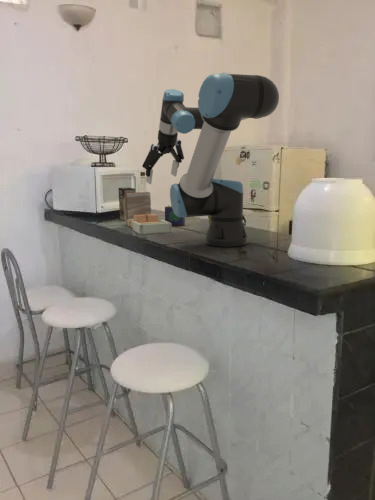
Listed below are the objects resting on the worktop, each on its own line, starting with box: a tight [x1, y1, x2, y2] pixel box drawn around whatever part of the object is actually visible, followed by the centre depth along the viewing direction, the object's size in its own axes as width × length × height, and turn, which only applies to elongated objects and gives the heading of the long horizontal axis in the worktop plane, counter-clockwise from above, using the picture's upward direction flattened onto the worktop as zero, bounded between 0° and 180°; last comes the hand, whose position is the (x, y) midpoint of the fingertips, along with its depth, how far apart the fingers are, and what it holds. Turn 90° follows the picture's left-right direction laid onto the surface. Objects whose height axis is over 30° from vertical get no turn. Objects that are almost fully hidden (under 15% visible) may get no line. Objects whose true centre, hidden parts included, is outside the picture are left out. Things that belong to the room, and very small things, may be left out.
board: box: [124, 218, 160, 229], centre depth 211 cm, size 20×11×3 cm, turn 21°
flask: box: [164, 205, 186, 227], centre depth 212 cm, size 9×3×11 cm, turn 88°
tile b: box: [133, 214, 146, 223], centre depth 204 cm, size 5×4×3 cm
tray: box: [132, 219, 173, 236], centre depth 196 cm, size 12×14×4 cm
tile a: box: [145, 213, 159, 222], centre depth 206 cm, size 5×4×3 cm
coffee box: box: [117, 187, 136, 222], centre depth 233 cm, size 9×6×16 cm
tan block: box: [125, 191, 152, 220], centre depth 215 cm, size 4×11×12 cm, turn 111°
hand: (161, 178), depth 190 cm, fingers open, 13 cm apart
